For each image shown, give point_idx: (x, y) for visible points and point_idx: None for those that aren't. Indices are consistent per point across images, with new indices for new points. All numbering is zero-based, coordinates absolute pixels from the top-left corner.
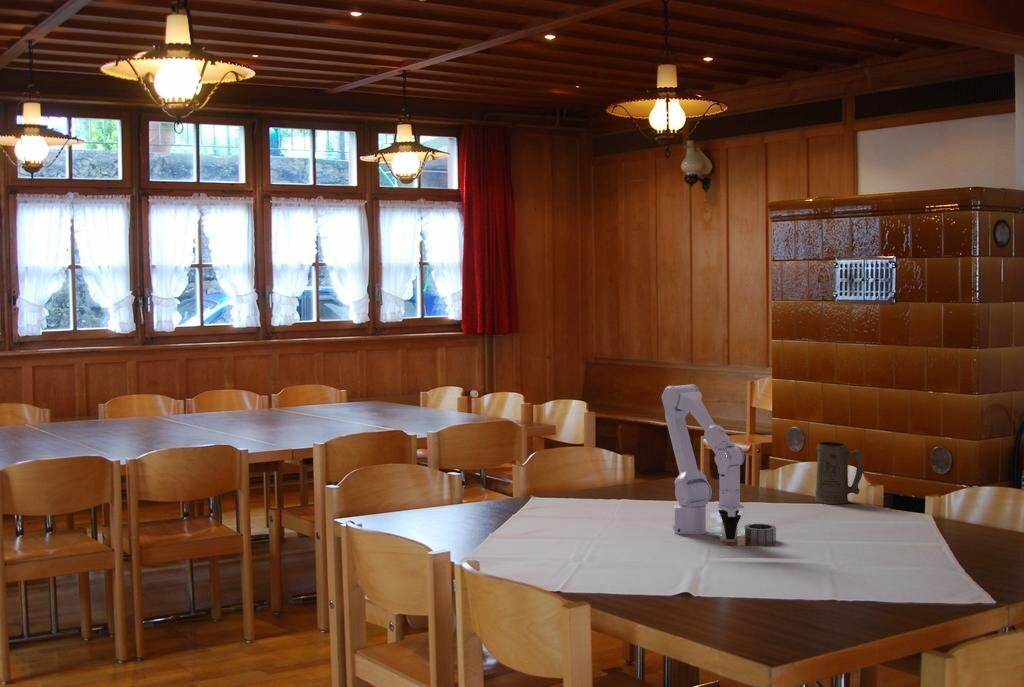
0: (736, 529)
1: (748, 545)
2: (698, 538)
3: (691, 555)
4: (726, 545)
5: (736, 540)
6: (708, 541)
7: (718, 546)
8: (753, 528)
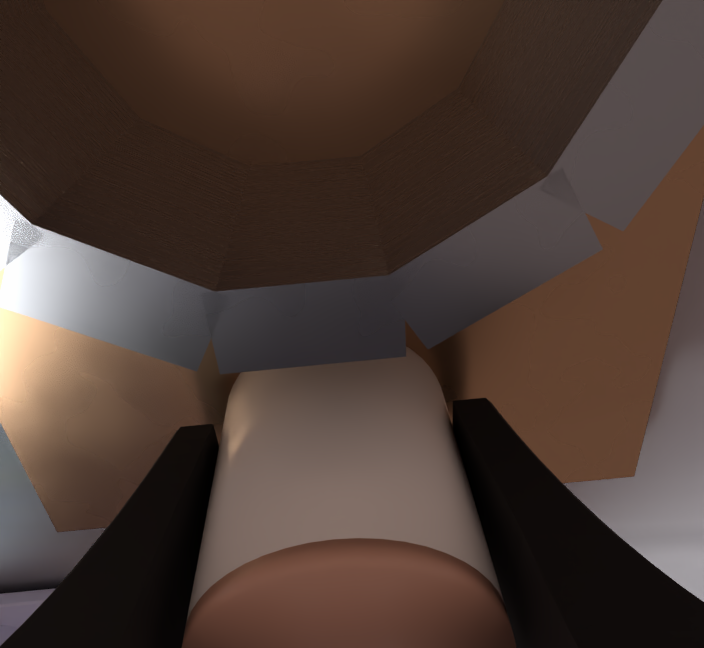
0: (421, 474)
1: (690, 164)
2: None
3: None
4: (641, 438)
5: None
6: None
7: None
8: (572, 147)
